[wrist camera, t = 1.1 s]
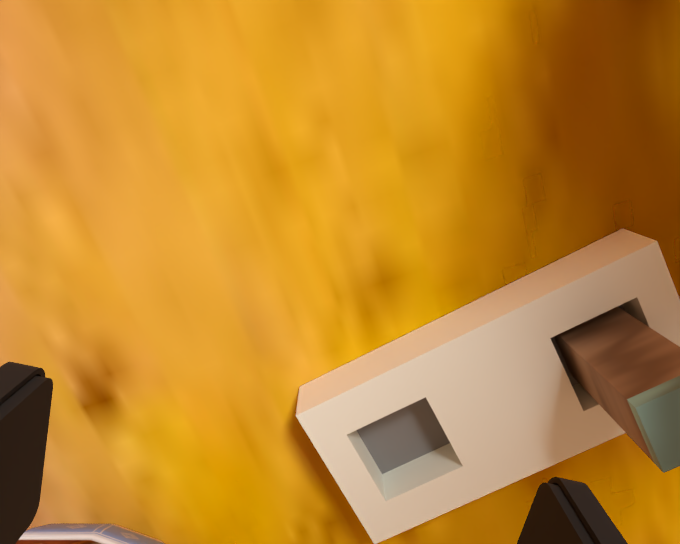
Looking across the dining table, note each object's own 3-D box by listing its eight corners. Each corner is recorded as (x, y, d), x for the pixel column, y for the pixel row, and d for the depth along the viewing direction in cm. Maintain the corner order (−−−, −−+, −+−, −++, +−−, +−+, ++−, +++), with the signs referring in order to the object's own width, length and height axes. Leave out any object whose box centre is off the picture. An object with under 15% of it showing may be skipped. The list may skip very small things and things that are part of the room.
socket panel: (622, 228, 36) (657, 241, 32) (677, 365, 38) (715, 392, 35) (299, 386, 39) (295, 415, 35) (370, 505, 41) (374, 544, 37)
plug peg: (606, 299, 36) (717, 371, 26) (627, 349, 37) (742, 438, 26) (549, 326, 36) (635, 407, 26) (571, 375, 37) (663, 472, 27)
